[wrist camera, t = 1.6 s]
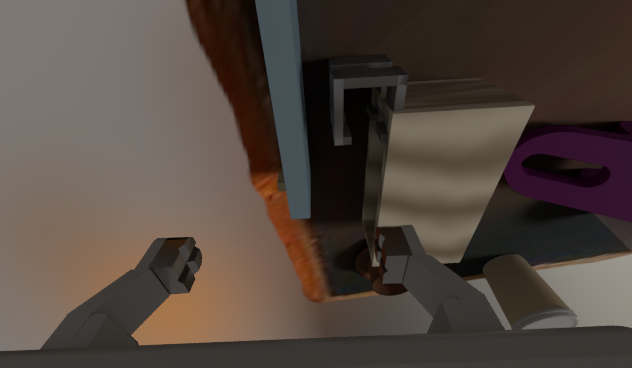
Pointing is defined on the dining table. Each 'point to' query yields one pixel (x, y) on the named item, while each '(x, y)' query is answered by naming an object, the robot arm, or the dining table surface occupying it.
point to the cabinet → (427, 149)
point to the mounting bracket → (591, 184)
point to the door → (287, 99)
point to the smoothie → (619, 228)
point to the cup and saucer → (376, 276)
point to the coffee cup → (526, 295)
